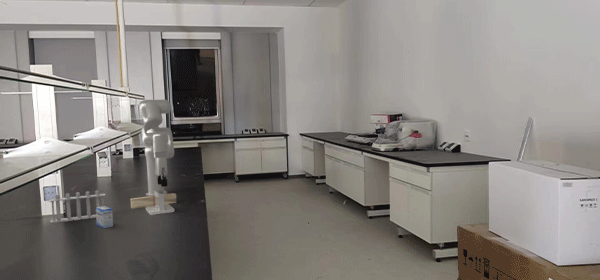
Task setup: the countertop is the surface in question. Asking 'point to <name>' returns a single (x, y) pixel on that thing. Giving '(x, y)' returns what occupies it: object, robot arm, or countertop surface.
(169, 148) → the robot arm
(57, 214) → the grey picket fence
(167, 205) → the ridge stand
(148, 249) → the countertop surface
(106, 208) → the medicine box
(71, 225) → the countertop surface
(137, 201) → the pine beam
